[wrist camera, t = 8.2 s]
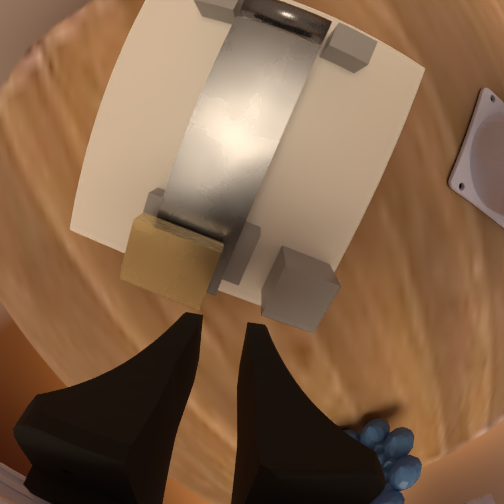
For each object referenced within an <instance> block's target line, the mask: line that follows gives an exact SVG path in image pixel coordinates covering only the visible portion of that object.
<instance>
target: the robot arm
mask: <svg viewBox="0 0 504 504" xmlns="http://www.w3.org/2000/svg"><path fill="white" fill-rule="evenodd" d="M490 96H491V97H492V101H491V99H490ZM460 183H461V185H462V186H461V188H460V189H459V184H460ZM448 185H449V187H450V188H451V189H452V190H454V191H455V192H456V193H458V194H459V195H461V196H462V197H463V198H465V199H466V200H468V201H469V202H470V203H472V204H473V205H474V206H476V207H477V208H478V209H480V210H481V211H482V212H484V213H485V214H486V215H487V216H489V217H490V218H491V219H493V220H494V221H495V222H496V223H498V224H499V225H500V226H501V227H503V228H504V102H503V101H502V100H501V99H500V98H499V97H498V96H497V95H495V94H494V93H493V92H492V91H491V90H490V89H489V88H482V89H481V91H480V94H479V98H478V101H477V104H476V107H475V110H474V113H473V116H472V119H471V122H470V125H469V128H468V131H467V134H466V137H465V139H464V142H463V145H462V147H461V150H460V153H459V155H458V158H457V160H456V163H455V165H454V168H453V170H452V173H451V175H450V177H449V181H448ZM202 320H203V315H200V314H194V313H188V312H186V313H184V314H183V315H182V316H181V317H180V318H179V319H178V320H177V321H176V322H175V323H174V324H173V325H172V326H171V327H170V328H169V329H168V330H167V331H166V332H164V333H163V334H162V335H161V336H160V337H159V338H158V339H156V340H155V341H154V342H153V343H152V344H150V345H149V346H148V347H146V348H145V349H144V350H142V351H141V352H140V353H138V354H137V355H136V356H134V357H133V358H131V359H130V360H128V361H126V362H125V363H123V364H121V365H120V366H118V367H116V368H114V369H112V370H111V371H108V372H106V373H104V374H102V375H100V376H98V377H96V378H93V379H91V380H88V381H86V382H83V383H80V384H77V385H74V386H71V387H68V388H65V389H61V390H57V391H52V392H48V393H43V394H38V395H36V396H35V398H34V399H33V400H32V401H31V402H30V404H29V405H28V406H27V408H26V409H25V411H24V413H23V414H22V416H21V417H20V419H19V421H18V422H17V423H16V425H15V426H14V428H13V431H14V436H15V439H16V440H17V442H18V444H19V446H20V447H21V449H22V450H23V452H24V453H25V455H26V456H27V458H28V459H29V461H30V462H31V464H32V465H33V466H32V468H31V470H30V472H29V473H28V475H27V477H25V476H23V475H21V474H19V473H18V472H16V471H14V470H12V469H11V468H9V467H7V466H6V465H4V464H2V463H1V462H0V504H162V503H163V497H164V491H165V486H166V480H167V475H168V470H169V465H170V460H171V455H172V450H173V446H174V441H175V437H176V433H177V430H178V426H179V424H180V421H181V418H182V415H183V412H184V409H185V406H186V403H187V400H188V398H189V395H190V392H191V389H192V386H193V383H194V380H195V375H196V370H197V366H198V361H199V353H200V341H201V330H202ZM385 486H386V480H385V476H384V472H383V469H382V466H381V463H380V461H379V459H378V456H377V454H376V452H375V451H373V450H372V449H370V448H368V447H367V446H365V445H364V444H362V443H360V442H359V441H357V440H356V439H354V438H353V437H351V436H350V435H348V434H347V433H346V432H345V431H343V430H342V429H341V428H339V427H338V426H337V425H336V424H334V423H333V422H332V421H331V420H330V419H329V418H328V417H327V416H326V415H325V414H323V413H322V412H321V411H320V410H319V409H318V408H317V407H316V406H315V405H314V404H313V403H312V401H311V400H310V399H309V398H308V397H307V396H306V394H305V393H304V392H303V391H302V389H301V388H300V387H299V385H298V384H297V383H296V381H295V380H294V378H293V377H292V375H291V374H290V372H289V371H288V369H287V368H286V366H285V364H284V362H283V361H282V359H281V357H280V355H279V353H278V352H277V350H276V348H275V345H274V343H273V341H272V339H271V337H270V334H269V332H268V329H267V327H266V326H265V325H263V324H256V323H249V322H248V323H247V329H246V334H245V340H244V345H243V350H242V356H241V361H240V367H239V376H238V384H237V453H236V463H235V473H234V482H233V492H232V500H231V504H370V503H371V502H372V501H374V500H375V499H376V498H377V497H378V496H379V495H380V494H381V492H382V491H383V490H384V488H385ZM465 504H495V502H494V499H493V497H492V495H491V494H490V493H488V494H486V495H484V496H481V497H479V498H476V499H474V500H471V501H469V502H467V503H465Z"/></svg>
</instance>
